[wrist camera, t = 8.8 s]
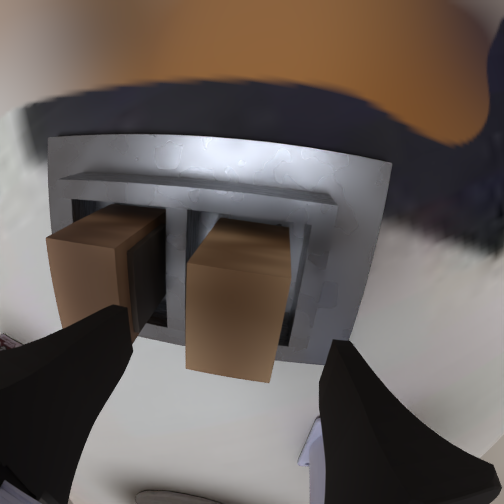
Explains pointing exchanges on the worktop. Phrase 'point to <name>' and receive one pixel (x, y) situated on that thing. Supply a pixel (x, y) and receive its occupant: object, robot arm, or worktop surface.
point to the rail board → (237, 216)
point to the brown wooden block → (110, 264)
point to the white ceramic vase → (170, 498)
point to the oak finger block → (237, 299)
